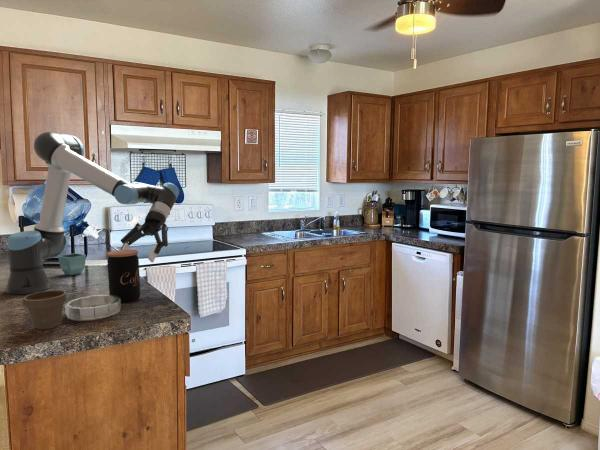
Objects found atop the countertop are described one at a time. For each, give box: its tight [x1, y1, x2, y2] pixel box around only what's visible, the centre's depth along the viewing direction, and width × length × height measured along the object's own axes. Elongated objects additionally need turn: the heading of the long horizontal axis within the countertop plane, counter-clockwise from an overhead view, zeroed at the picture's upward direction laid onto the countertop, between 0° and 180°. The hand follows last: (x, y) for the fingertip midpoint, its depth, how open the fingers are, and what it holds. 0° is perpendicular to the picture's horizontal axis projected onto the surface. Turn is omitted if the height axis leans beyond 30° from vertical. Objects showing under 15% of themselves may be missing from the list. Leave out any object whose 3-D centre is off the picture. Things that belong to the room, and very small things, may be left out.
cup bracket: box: [64, 294, 122, 322], centre depth 155 cm, size 16×16×4 cm
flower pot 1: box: [22, 289, 68, 330], centre depth 141 cm, size 12×11×10 cm
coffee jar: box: [106, 249, 141, 305], centre depth 170 cm, size 11×11×18 cm
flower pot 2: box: [57, 252, 87, 276], centre depth 217 cm, size 9×9×9 cm
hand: (135, 259), depth 174 cm, fingers open, 13 cm apart
